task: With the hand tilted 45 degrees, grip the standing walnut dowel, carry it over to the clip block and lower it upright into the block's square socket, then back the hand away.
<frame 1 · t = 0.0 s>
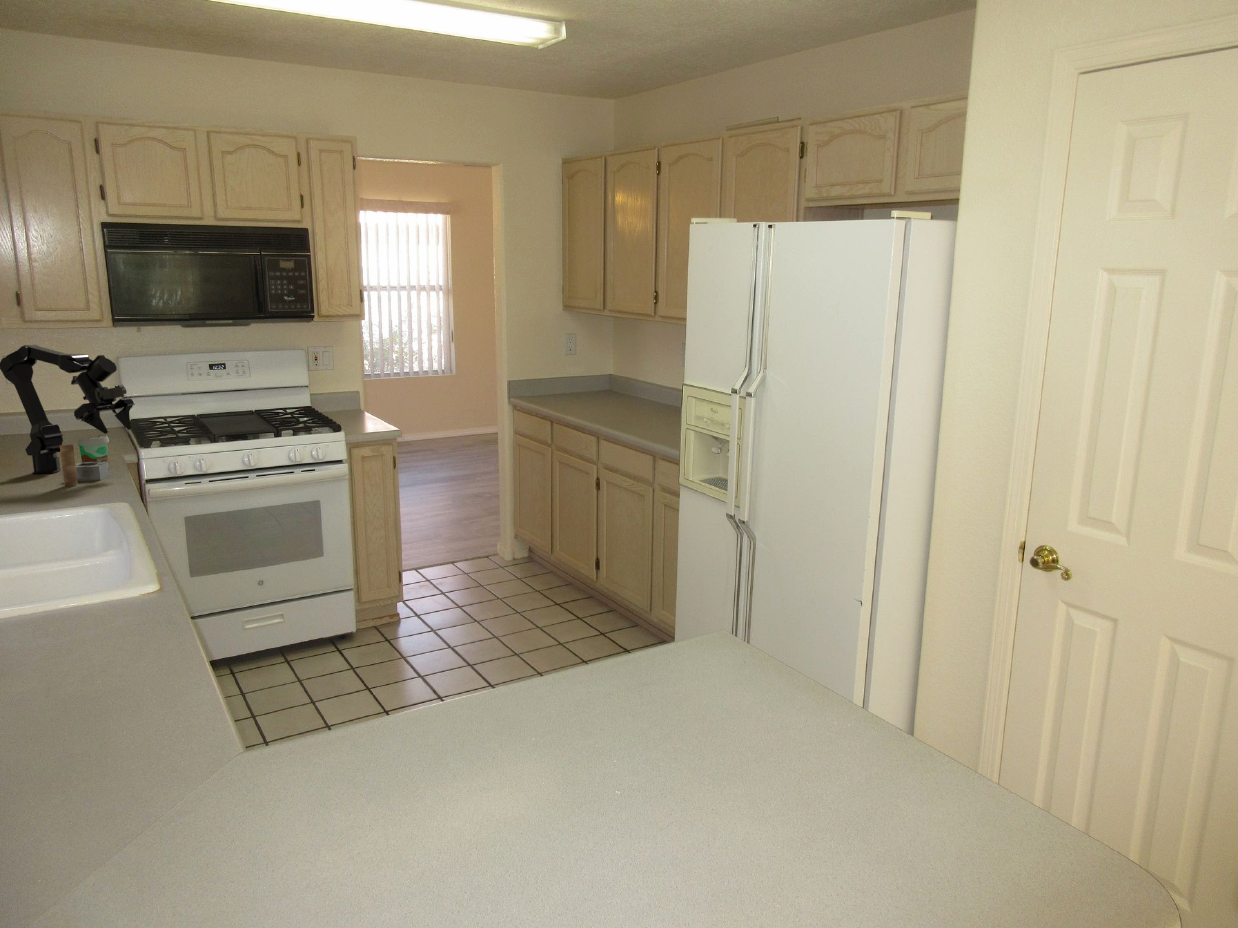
hand: (118, 431, 279), 15 cm above the worktop, tool tilted 35°, fingers open, 9 cm apart
dowel: (71, 485, 268), on the worktop
clip block: (89, 478, 280), on the worktop
food container: (100, 465, 302), on the worktop
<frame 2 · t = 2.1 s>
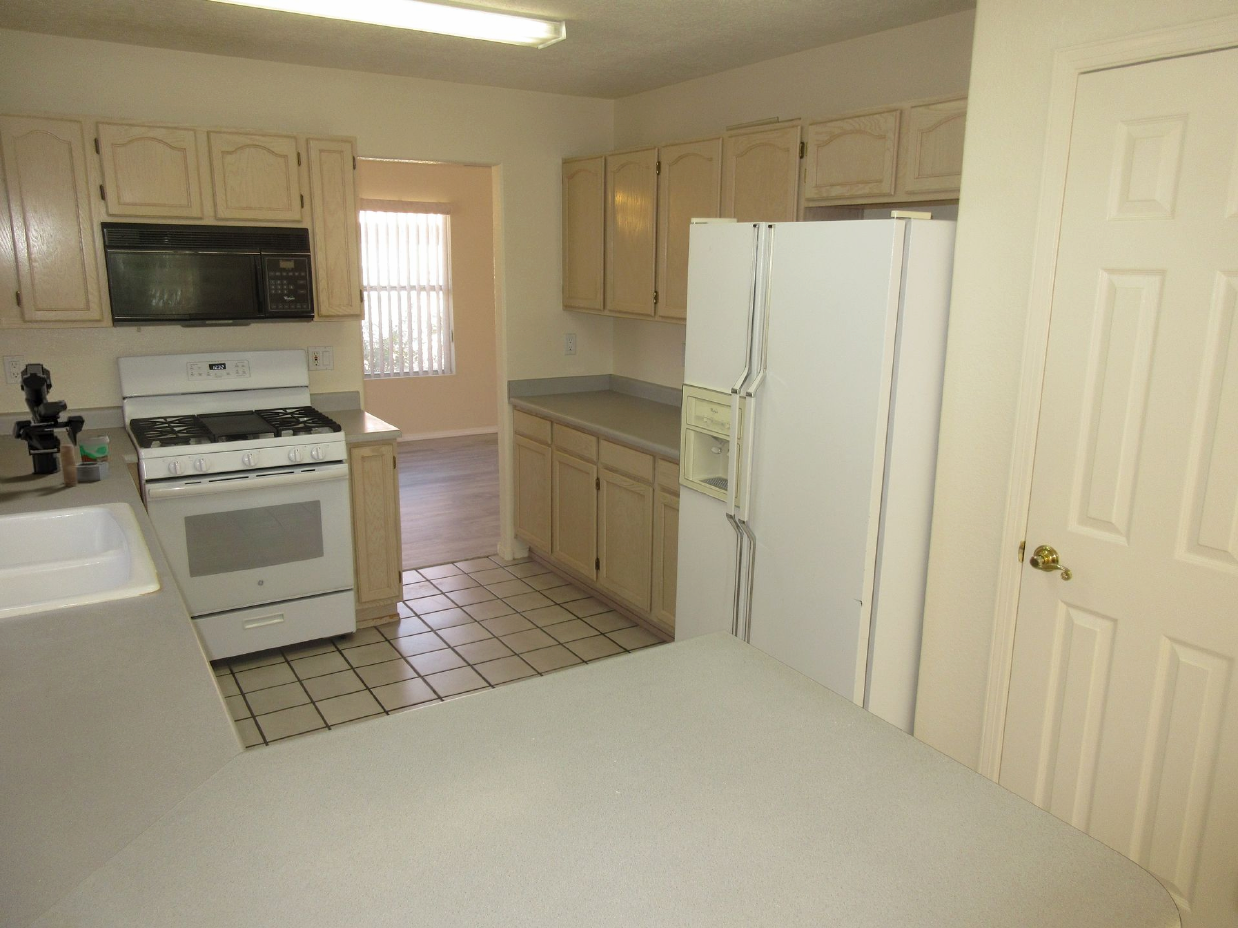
hand: (59, 447, 269), 11 cm above the worktop, tool tilted 45°, fingers open, 9 cm apart
nothing on the worktop moved.
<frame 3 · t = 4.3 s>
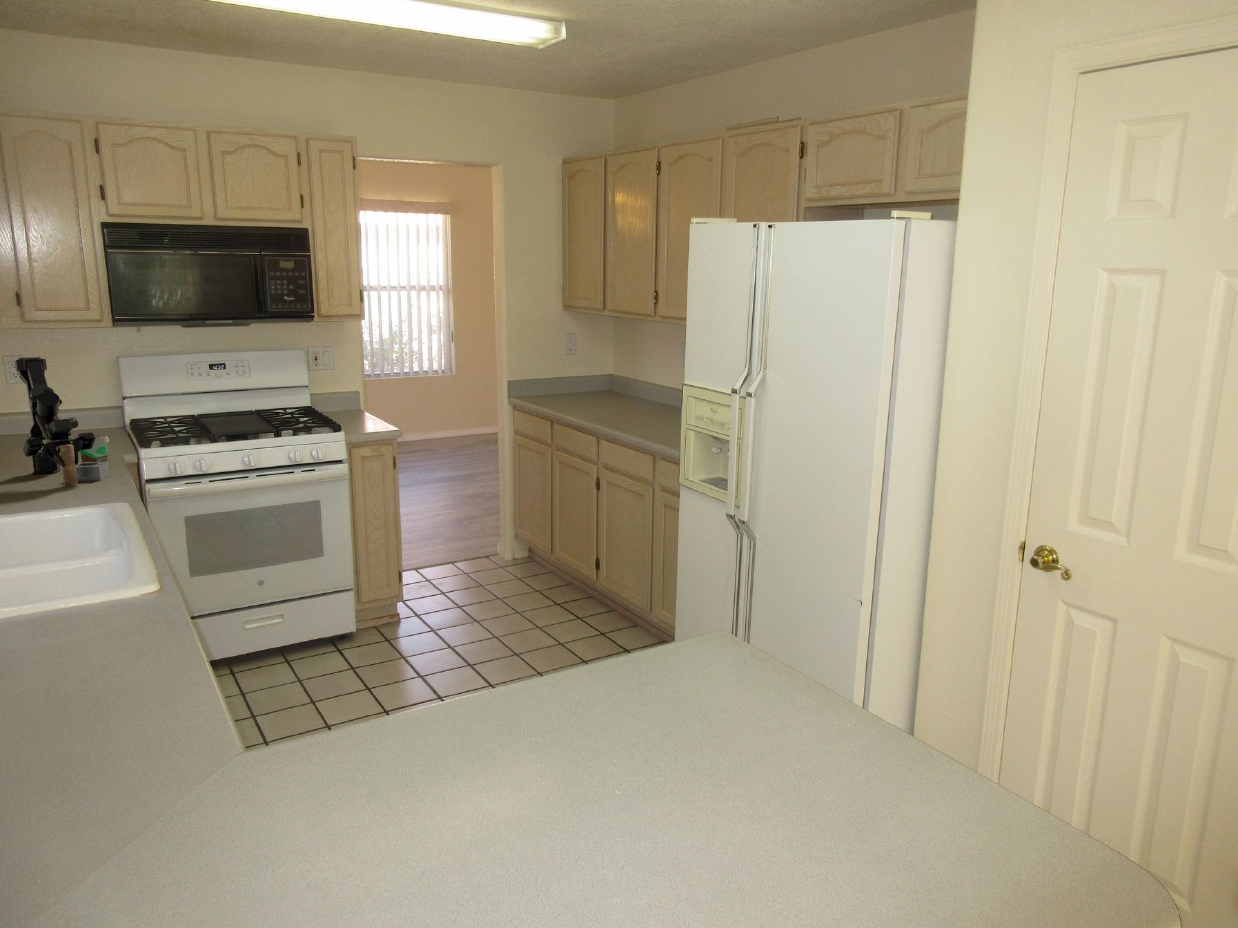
hand: (70, 465, 266), 7 cm above the worktop, tool tilted 45°, fingers closed on dowel, 3 cm apart
dowel: (71, 485, 268), on the worktop, touching gripper
everything else where it was.
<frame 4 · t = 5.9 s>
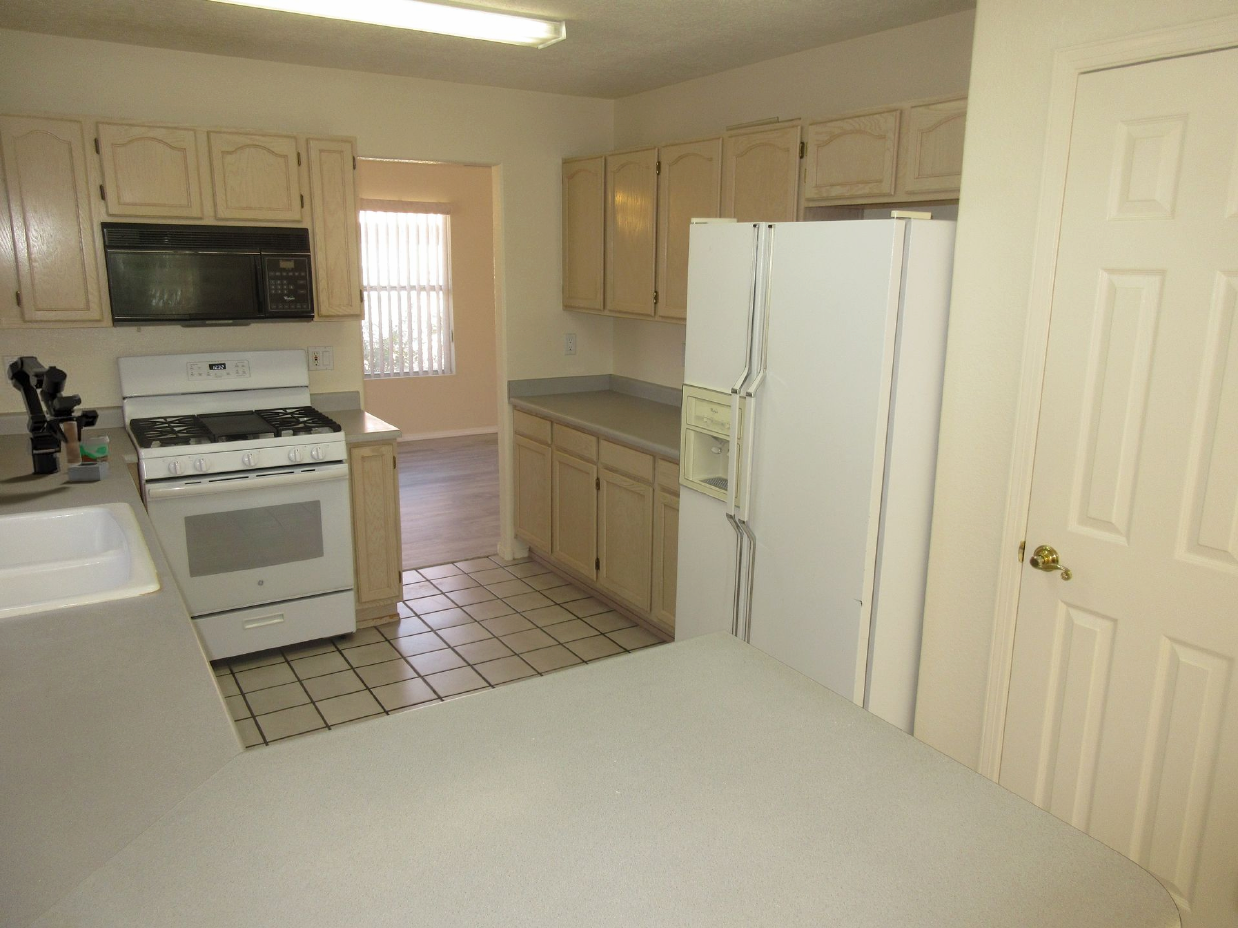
hand: (73, 441, 269), 13 cm above the worktop, tool tilted 45°, fingers closed on dowel, 3 cm apart
dowel: (74, 462, 271), point 7 cm above the worktop, touching gripper
everything else where it was.
when the fingers open (9 cm above the worktop, at t = 7.9 s): dowel drops 1 cm, resting on clip block.
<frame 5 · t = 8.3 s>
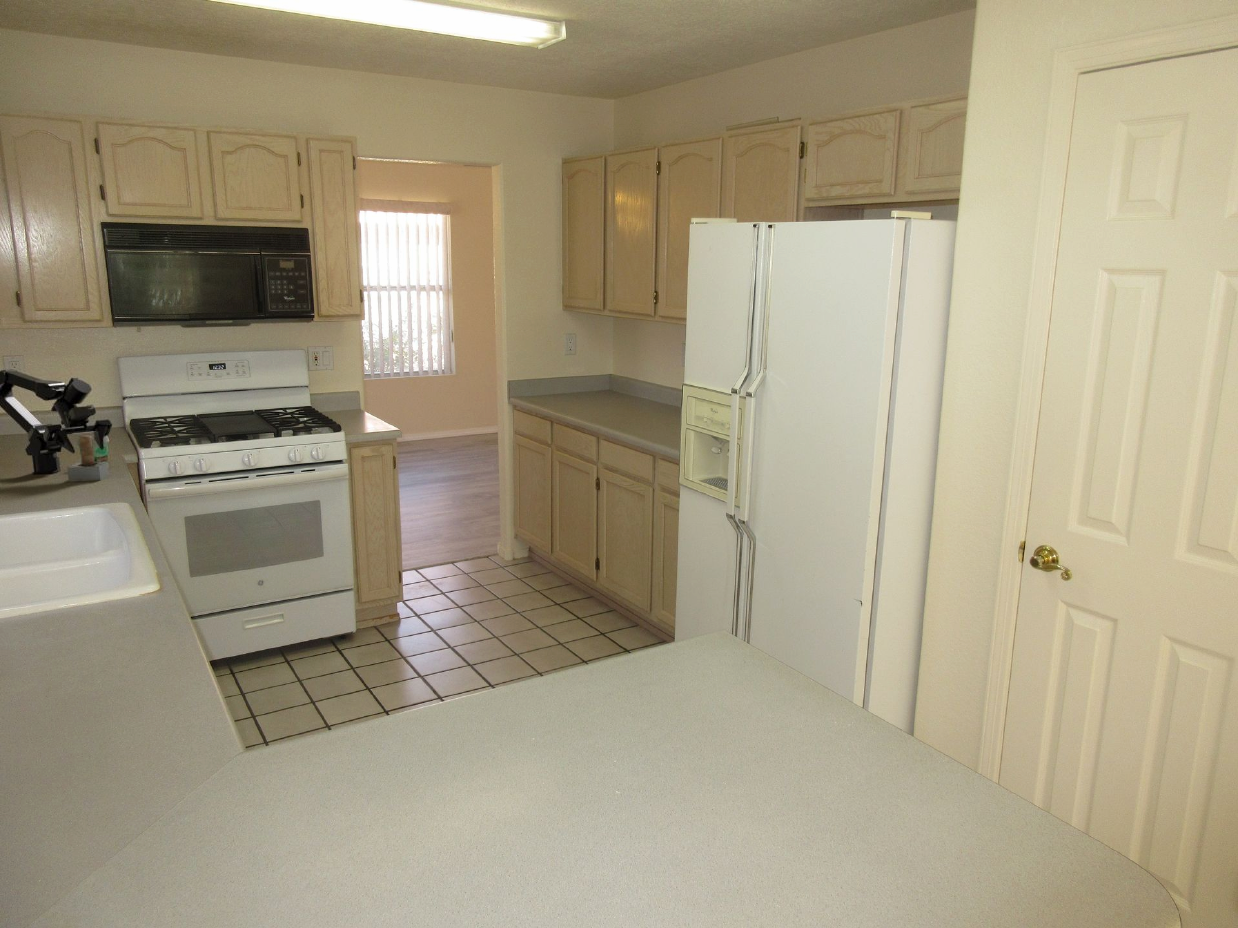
hand: (88, 450, 277), 9 cm above the worktop, tool tilted 45°, fingers open, 8 cm apart
dowel: (89, 475, 279), point 1 cm above the worktop, touching clip block
everything else where it was.
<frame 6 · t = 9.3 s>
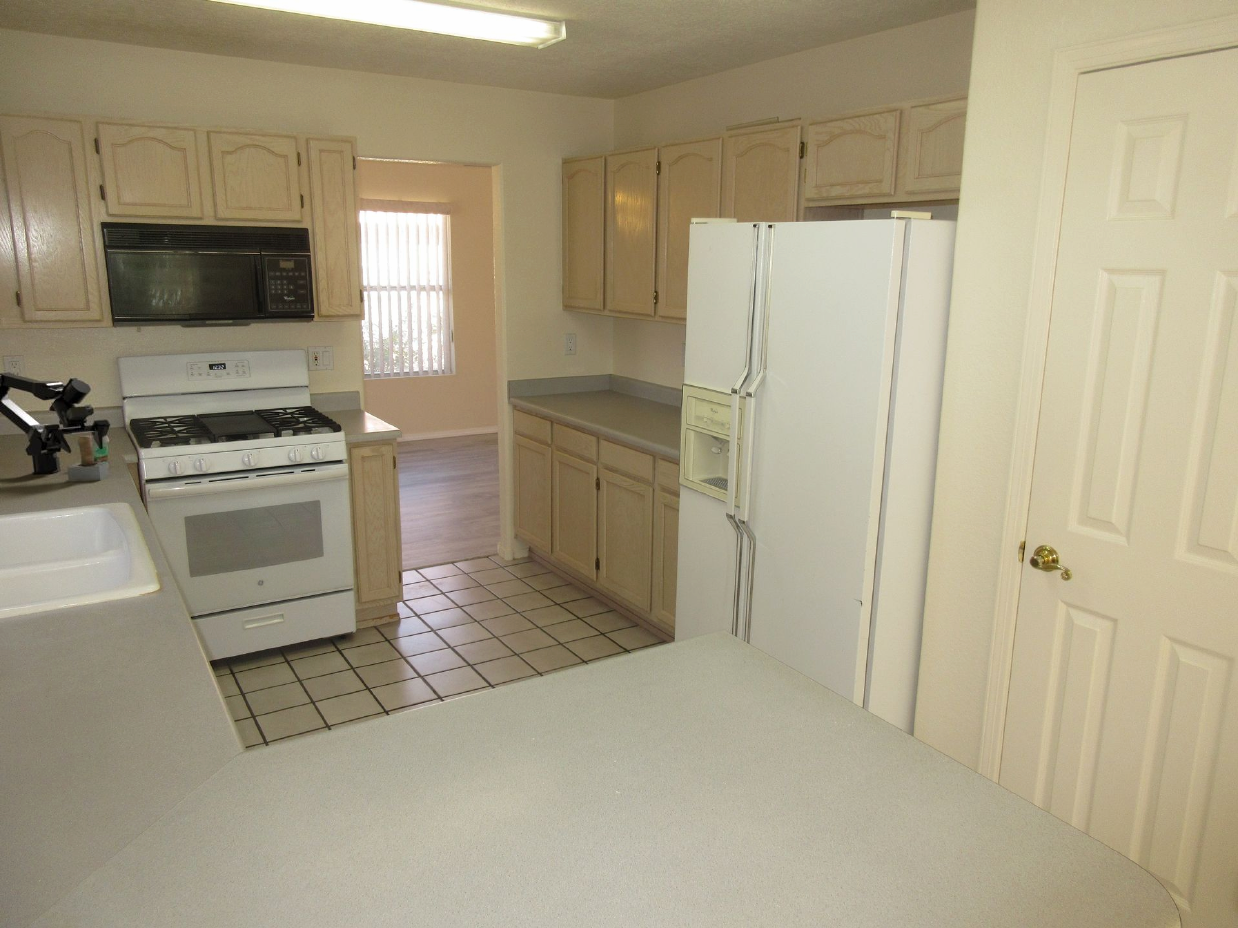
hand: (86, 450, 278), 9 cm above the worktop, tool tilted 45°, fingers open, 9 cm apart
nothing on the worktop moved.
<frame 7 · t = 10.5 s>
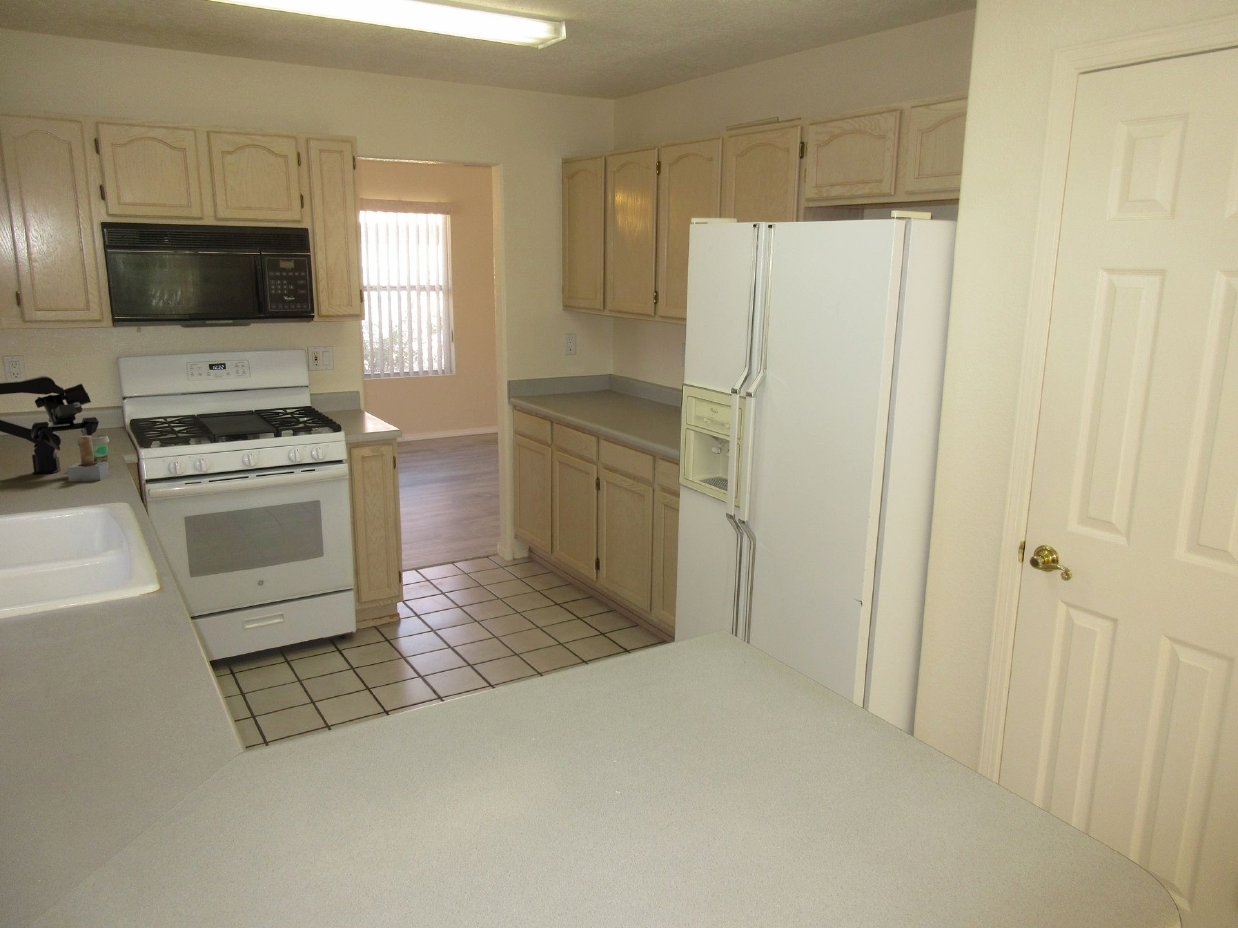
hand: (75, 447, 283), 9 cm above the worktop, tool tilted 45°, fingers open, 9 cm apart
nothing on the worktop moved.
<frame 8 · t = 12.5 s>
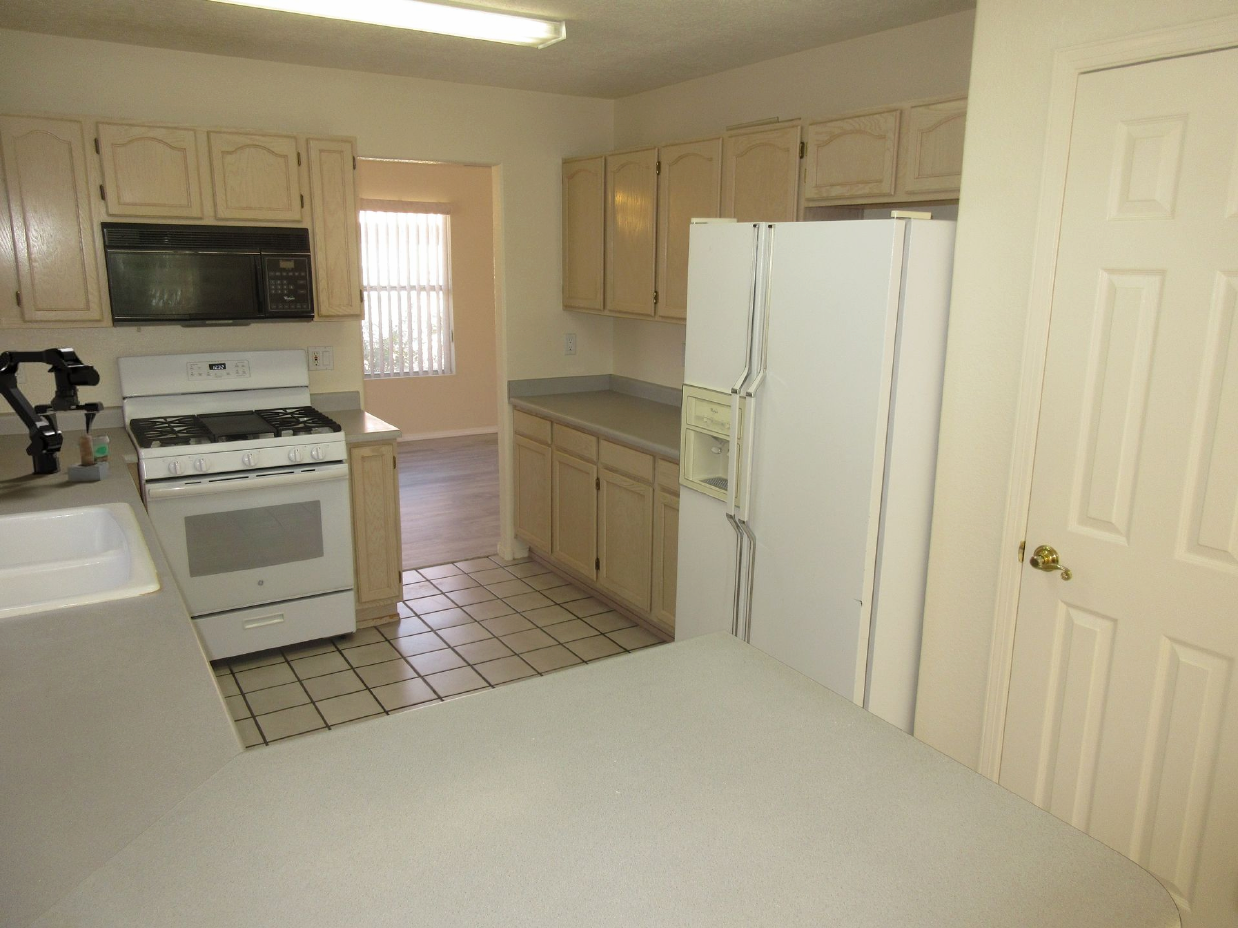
hand: (72, 434, 286), 13 cm above the worktop, tool pointing down, fingers open, 9 cm apart
nothing on the worktop moved.
at the end: dowel 0.0 cm from the clip block (horizontally); dowel point 1.0 cm above the worktop; dowel tilted 0° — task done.
